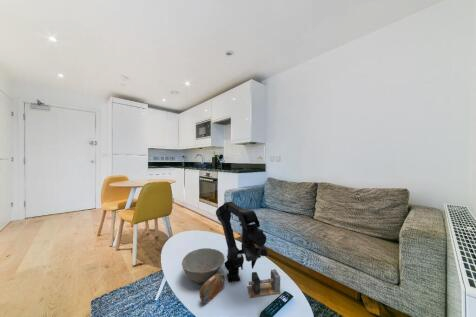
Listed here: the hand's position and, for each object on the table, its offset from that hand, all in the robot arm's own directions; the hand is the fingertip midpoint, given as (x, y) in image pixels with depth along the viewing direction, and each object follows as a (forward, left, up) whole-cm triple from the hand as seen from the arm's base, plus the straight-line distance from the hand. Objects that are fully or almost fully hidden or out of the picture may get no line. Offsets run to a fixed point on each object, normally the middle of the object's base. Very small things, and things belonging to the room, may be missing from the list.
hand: (247, 268), depth 90 cm
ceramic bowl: (-15, -20, -12) cm, 28 cm away
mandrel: (0, +9, -12) cm, 15 cm away
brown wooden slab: (-1, -16, -12) cm, 21 cm away
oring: (0, +5, -11) cm, 12 cm away
